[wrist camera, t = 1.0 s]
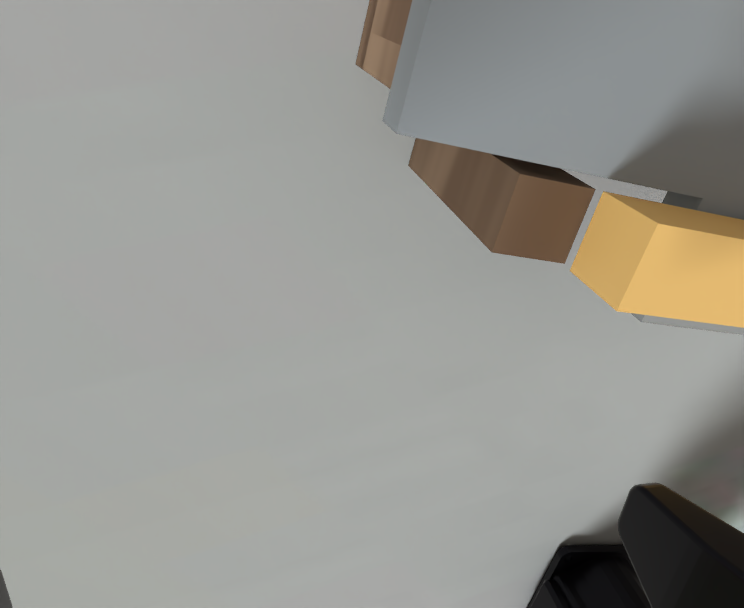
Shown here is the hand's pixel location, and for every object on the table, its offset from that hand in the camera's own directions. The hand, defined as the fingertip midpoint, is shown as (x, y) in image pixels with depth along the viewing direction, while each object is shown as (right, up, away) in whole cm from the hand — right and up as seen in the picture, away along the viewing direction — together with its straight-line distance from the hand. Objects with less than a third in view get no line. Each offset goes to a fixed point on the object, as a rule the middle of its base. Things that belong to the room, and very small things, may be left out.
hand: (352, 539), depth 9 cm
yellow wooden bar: (+10, +4, +7) cm, 13 cm away
